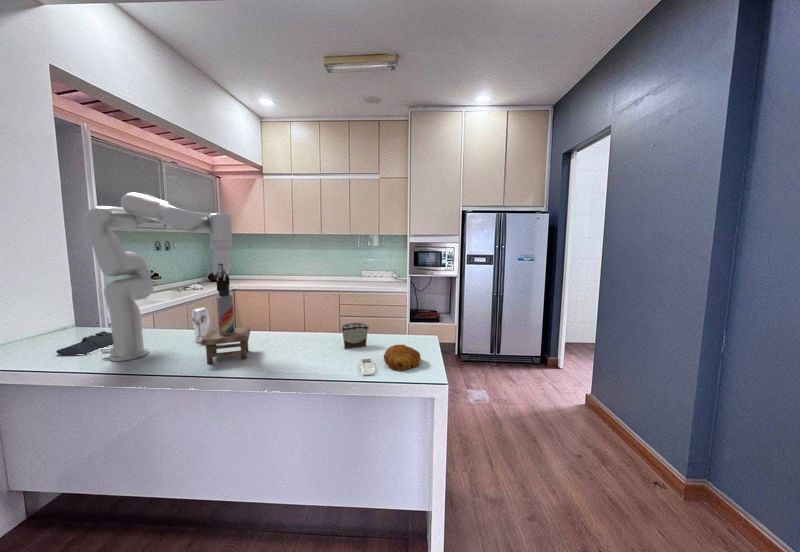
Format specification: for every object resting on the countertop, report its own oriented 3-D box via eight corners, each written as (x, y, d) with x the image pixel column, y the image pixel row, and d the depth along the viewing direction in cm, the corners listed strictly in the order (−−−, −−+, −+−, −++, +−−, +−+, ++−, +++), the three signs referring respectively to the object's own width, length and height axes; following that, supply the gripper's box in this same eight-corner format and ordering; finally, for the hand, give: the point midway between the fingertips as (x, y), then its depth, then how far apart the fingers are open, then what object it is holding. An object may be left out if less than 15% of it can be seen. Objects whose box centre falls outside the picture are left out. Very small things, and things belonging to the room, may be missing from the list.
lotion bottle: (233, 334, 134) (230, 284, 131) (217, 335, 132) (213, 285, 130) (235, 330, 139) (232, 282, 136) (220, 331, 138) (217, 283, 135)
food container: (366, 342, 156) (365, 321, 155) (369, 346, 150) (369, 324, 149) (339, 345, 152) (338, 323, 151) (341, 349, 146) (341, 327, 145)
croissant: (381, 376, 125) (380, 356, 123) (386, 355, 140) (385, 337, 138) (420, 376, 124) (420, 356, 122) (421, 355, 139) (420, 337, 137)
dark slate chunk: (48, 357, 137) (46, 346, 136) (95, 340, 159) (94, 330, 158) (86, 357, 137) (85, 345, 137) (128, 340, 159) (127, 330, 158)
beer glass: (214, 338, 160) (212, 307, 158) (204, 343, 153) (202, 311, 151) (200, 338, 161) (198, 307, 159) (190, 342, 154) (187, 310, 152)
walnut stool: (203, 365, 128) (201, 340, 126) (209, 353, 141) (207, 330, 139) (249, 360, 133) (247, 336, 132) (251, 349, 146) (250, 326, 145)
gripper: (214, 244, 138) (216, 285, 140) (206, 246, 122) (209, 293, 124) (234, 244, 141) (236, 285, 143) (229, 246, 124) (231, 292, 127)
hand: (223, 288), depth 133 cm, fingers open, 9 cm apart
